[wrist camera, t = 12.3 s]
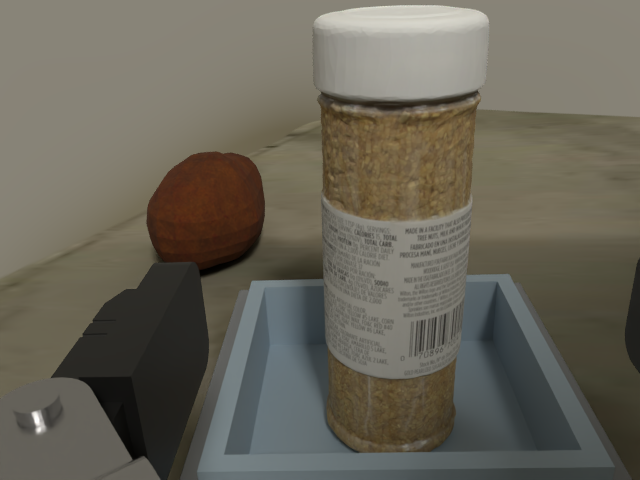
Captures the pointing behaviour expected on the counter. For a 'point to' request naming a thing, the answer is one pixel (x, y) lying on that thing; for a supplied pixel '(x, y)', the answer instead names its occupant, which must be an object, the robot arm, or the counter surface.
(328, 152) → the sprinkles bottle
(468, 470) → the blue square tray
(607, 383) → the counter surface
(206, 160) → the potato
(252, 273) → the counter surface
